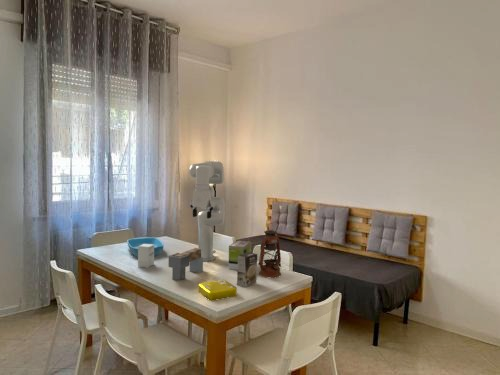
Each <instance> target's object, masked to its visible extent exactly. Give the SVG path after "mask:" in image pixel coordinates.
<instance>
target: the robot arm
mask: <svg viewBox="0 0 500 375" xmlns="http://www.w3.org/2000/svg"><path fill="white" fill-rule="evenodd" d="M224 167H225V166H224V164H223V163H222V162H221V161H214V160H213V161H211V160H206V161H204V162H200V163H193V164H191V165H190V167H189V170H188V174H189V176H190V178H193V179H195V185H194V188H195V189H194V190H193V196H192V200H190V201H189V202H188V204H189V206H190V208H191V210H192V217H193V218H196V217H197V224H198V245H197V246H198V247H197V248H199V249H201V257H203V262H204V261H205V262H209V261H214V260H215V259H216V256H215V255H214V254H215V253H216V249H214V231H213V229H212V228H211V227H215V226H216V227H218V226H219V227H220V226H223V225H224V223H225V217H226V216H225V211H226V206H225V205H226V204H225V203H226V202H225V199H224V197H220V196H215V190H214V189H213V187H212V186H210V185H222V184H224V182H225V169H224ZM199 208H200V209H201V211H200V212H198V209H199Z"/></svg>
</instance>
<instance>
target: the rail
mask: <svg viewBox="0 0 500 375" xmlns="http://www.w3.org/2000/svg"><path fill="white" fill-rule="evenodd" d="M185 255H190V258H189V263H190V262H191V261H193V260H195V259H198V258H200V257H201V249H199V248H198V247H194V248H191V249H189V250H186V251H183V252H181V253H180V254H177V255H175V256H176V257H182V256H185Z"/></svg>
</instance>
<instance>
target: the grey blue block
mask: <svg viewBox="0 0 500 375" xmlns="http://www.w3.org/2000/svg"><path fill="white" fill-rule="evenodd" d="M203 270H204V261H203V257H200V258H198V259H195V260H193V261H191V262H189V272H192V273H197V274H199V273H201V272H203Z"/></svg>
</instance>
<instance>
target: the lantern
mask: <svg viewBox="0 0 500 375" xmlns="http://www.w3.org/2000/svg"><path fill="white" fill-rule="evenodd" d="M270 225H273V223H272V222H270V223H269V224H268V227H267V230H264V231H263V233H264V234H265V235H264V238H263V240H262V242H261V244H260V253H259V254H260V255H259V258H258V262H257V266H259V268H260V271H259V273H258V275H259V276H260V277H263V278H267V277H271V278H270V279H274V278H275V277H276V278H280V277H282V273H281V268H282V264H281V262H282V260H281V259H282V257H281V249H280V248H281V247H280V246H281V245H280V238H279V237H278V236H277V234H278V233H277V231H275V230H274V229H271V230H270V229H269V226H270ZM265 250H266V251H265ZM270 252H273V254H272V253H270ZM265 255H267V257H269V259H265ZM268 255H270V256H271V257H270V256H268ZM279 276H280V277H279Z"/></svg>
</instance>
